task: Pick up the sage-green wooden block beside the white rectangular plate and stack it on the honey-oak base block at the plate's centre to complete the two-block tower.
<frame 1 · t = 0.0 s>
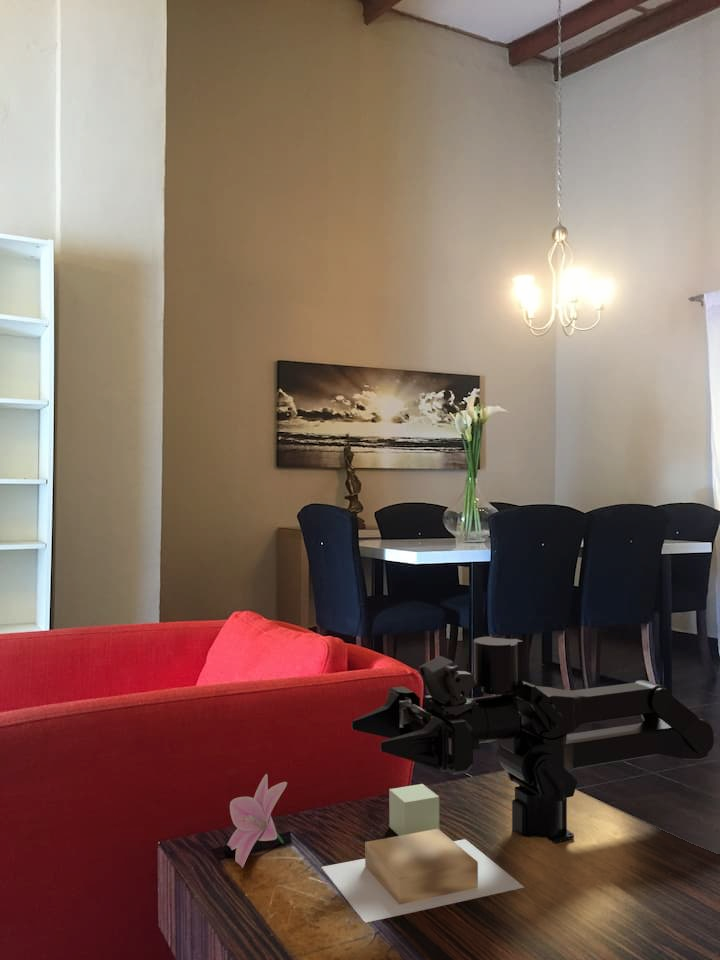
hand: (365, 735, 107), 17 cm above the table, tool horizontal, fingers open, 9 cm apart
base block: (420, 876, 104), resting on white rectangular plate
lily: (256, 857, 112), on the table
white rectangular plate: (420, 883, 104), on the table
top block: (414, 837, 117), on the table
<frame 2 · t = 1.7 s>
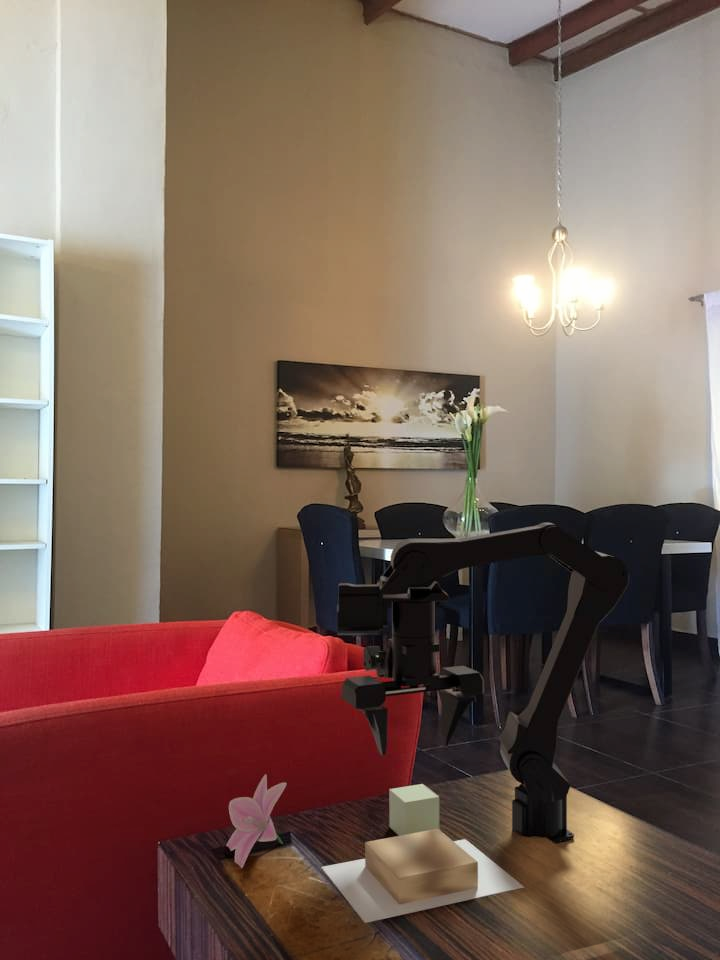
hand: (414, 750, 117), 12 cm above the table, tool pointing down, fingers open, 9 cm apart
nothing on the table moved.
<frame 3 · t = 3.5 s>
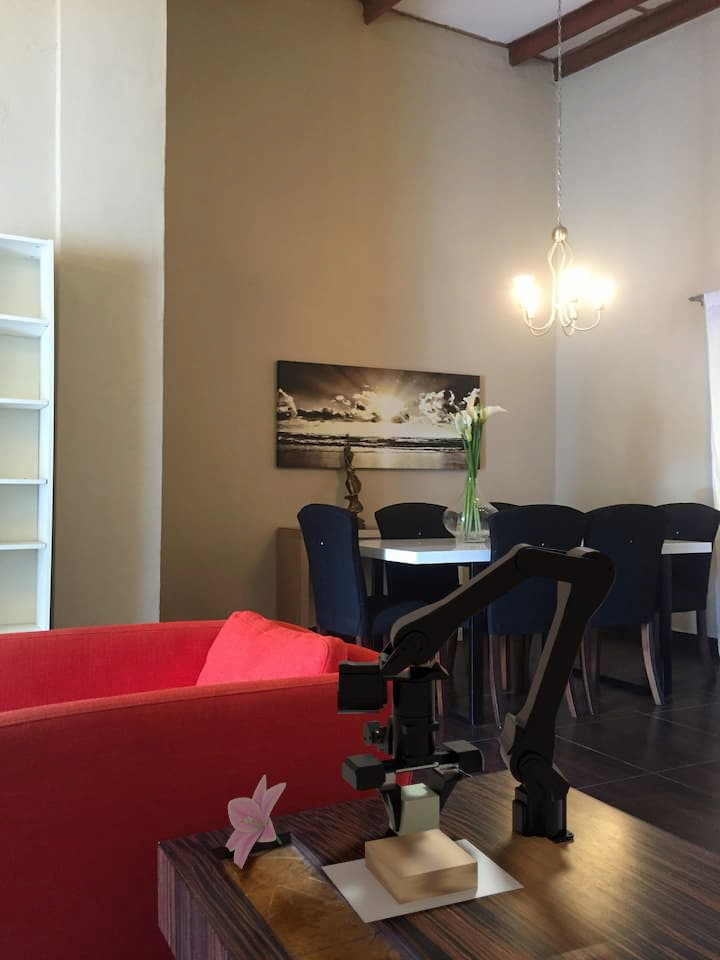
hand: (414, 827, 117), 1 cm above the table, tool pointing down, fingers closed on top block, 5 cm apart
top block: (414, 836, 117), on the table, touching gripper
everything else where it was.
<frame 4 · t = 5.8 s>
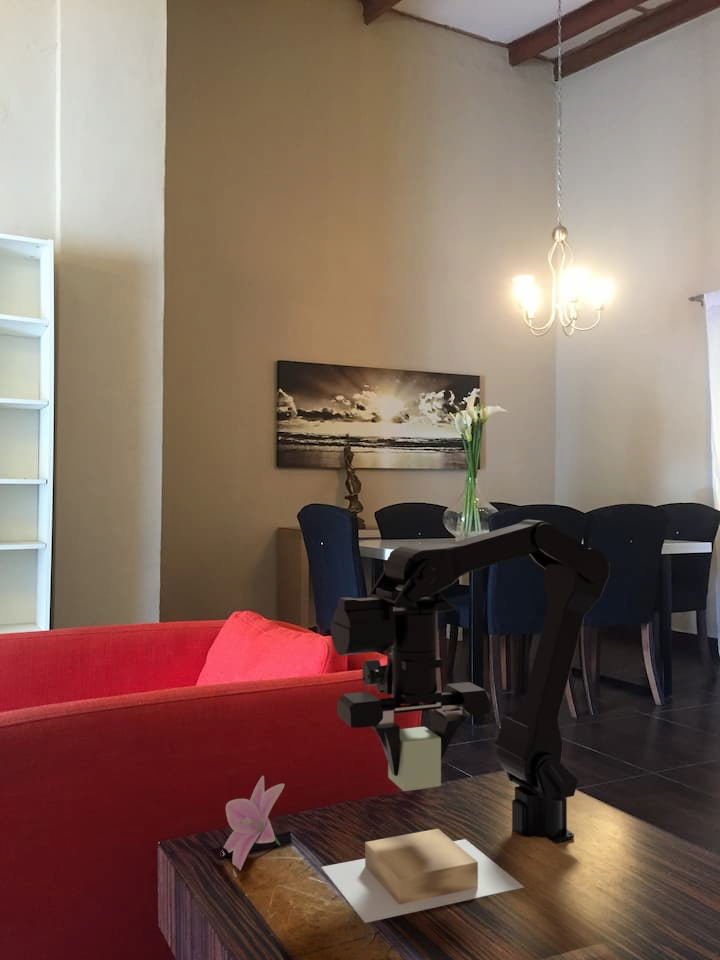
hand: (414, 772, 109), 11 cm above the table, tool pointing down, fingers closed on top block, 5 cm apart
top block: (414, 781, 109), point 10 cm above the table, touching gripper
everything else where it was.
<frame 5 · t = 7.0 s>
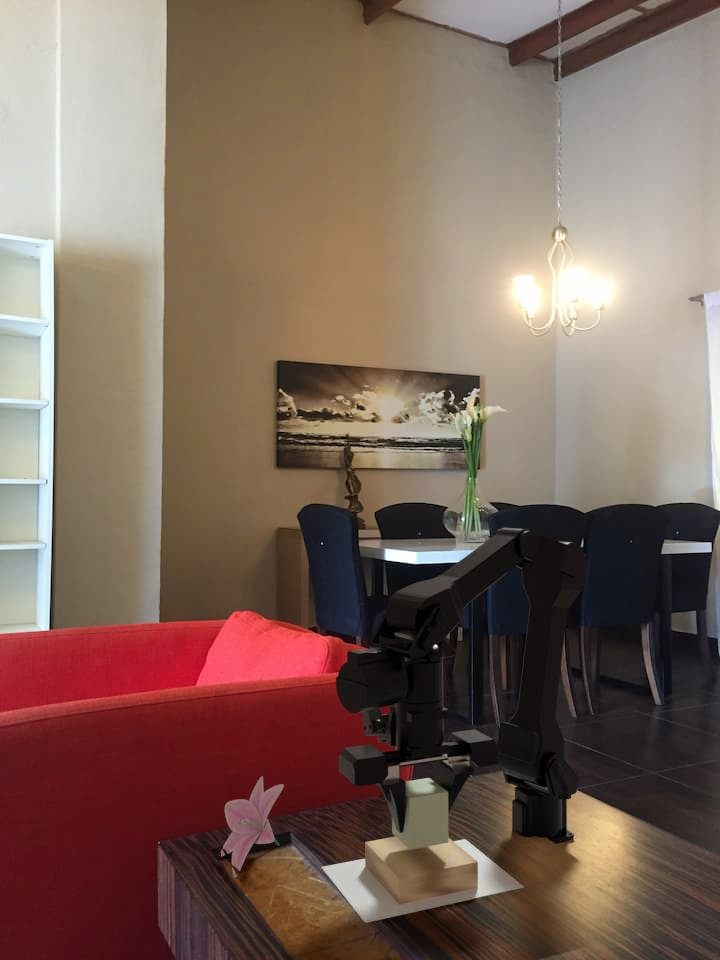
hand: (420, 827, 104), 7 cm above the table, tool pointing down, fingers closed on top block, 5 cm apart
top block: (419, 837, 104), point 5 cm above the table, touching gripper
everything else where it was.
when the fingers open (6 cm above the table, at t = 7.8 s): top block drops 1 cm, resting on base block.
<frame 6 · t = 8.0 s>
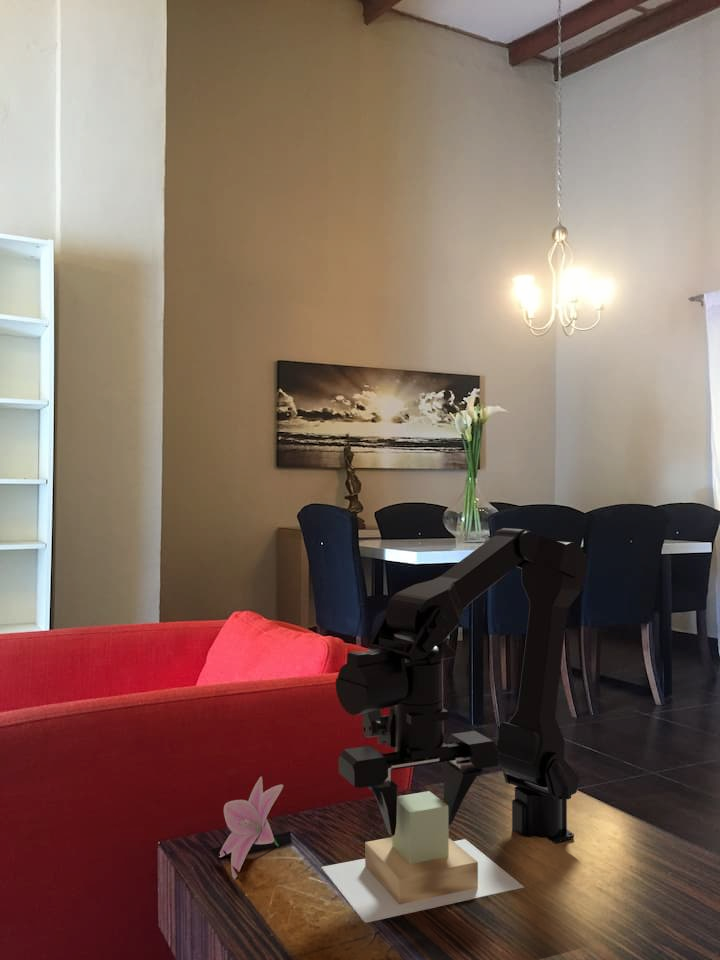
hand: (419, 829, 104), 6 cm above the table, tool pointing down, fingers open, 7 cm apart
top block: (420, 851, 104), point 4 cm above the table, touching base block
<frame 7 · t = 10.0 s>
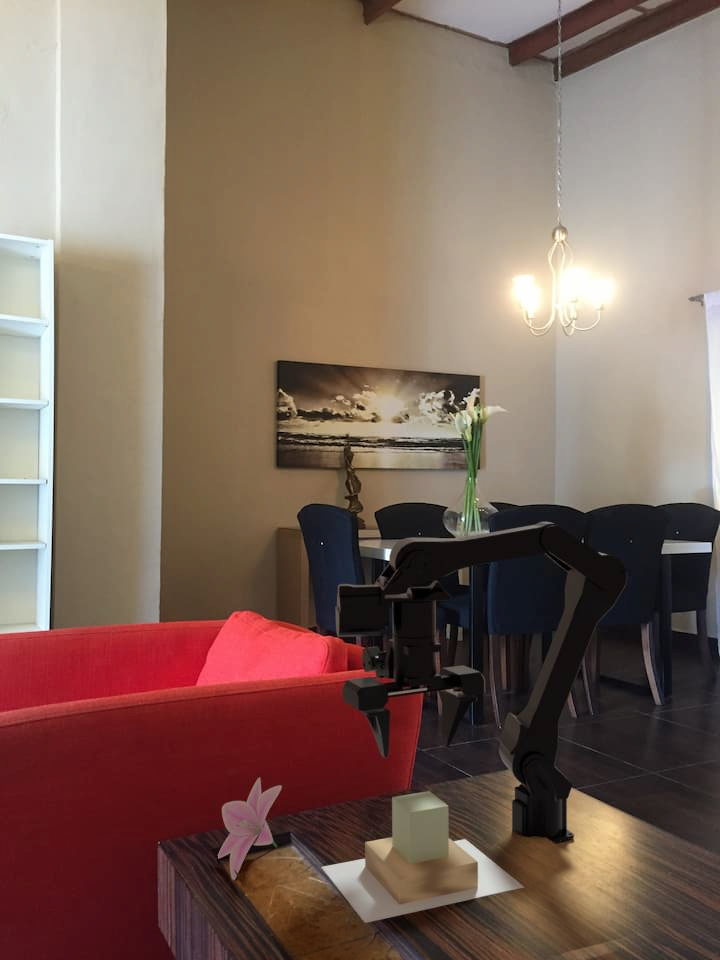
hand: (415, 751, 115), 12 cm above the table, tool pointing down, fingers open, 9 cm apart
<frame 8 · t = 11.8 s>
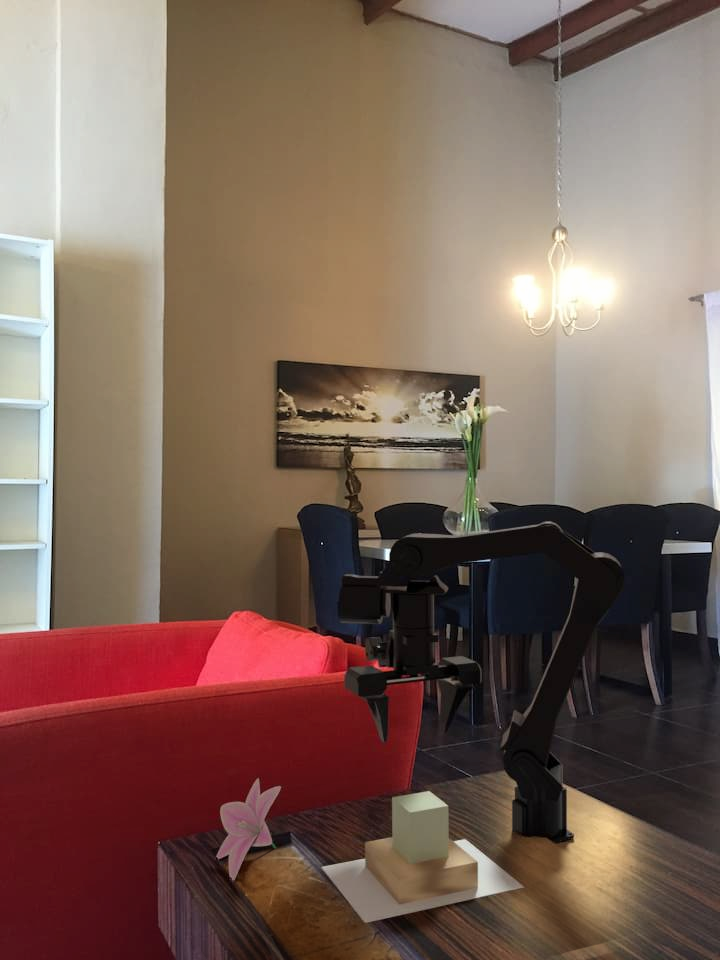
hand: (414, 737, 121), 12 cm above the table, tool pointing down, fingers open, 9 cm apart
at the end: top block 0.1 cm off-centre on the base block, point 3.0 cm above the base block's base; top block tilted 0°; the gripper is holding nothing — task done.
